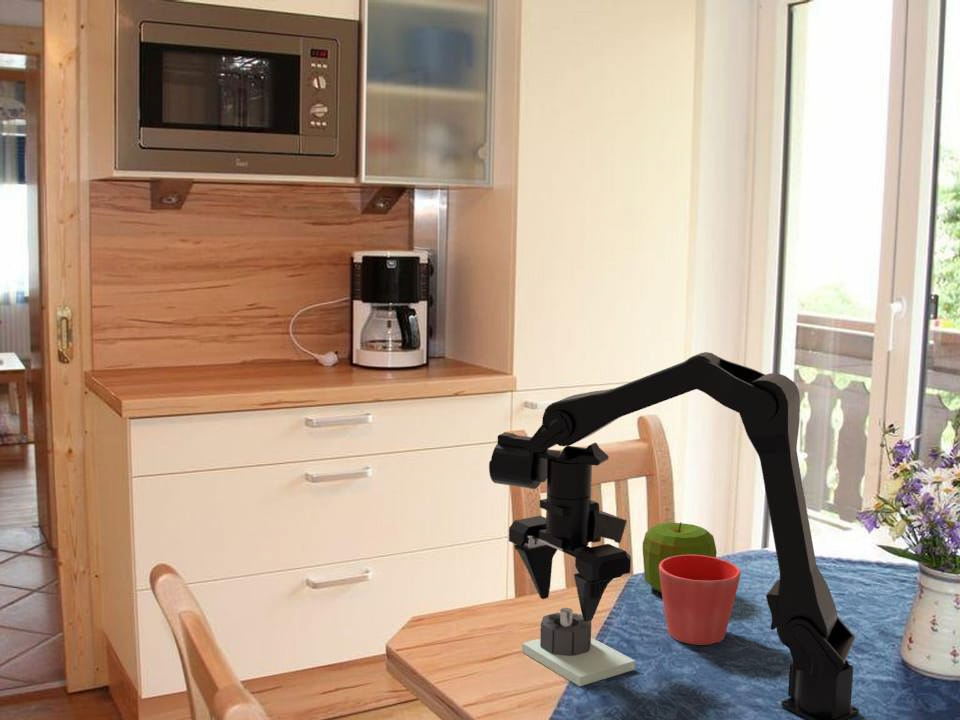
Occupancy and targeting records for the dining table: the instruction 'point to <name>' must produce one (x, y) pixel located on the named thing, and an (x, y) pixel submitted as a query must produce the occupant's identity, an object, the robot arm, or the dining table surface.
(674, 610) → the flower pot
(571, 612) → the grey metallic cylinder
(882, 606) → the dining table surface
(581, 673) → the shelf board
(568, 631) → the grey octagonal ring
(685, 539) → the apple
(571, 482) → the robot arm
